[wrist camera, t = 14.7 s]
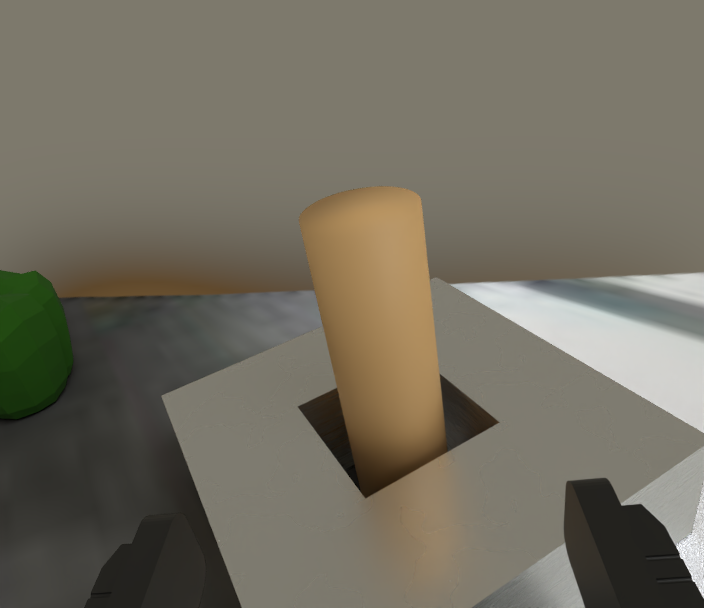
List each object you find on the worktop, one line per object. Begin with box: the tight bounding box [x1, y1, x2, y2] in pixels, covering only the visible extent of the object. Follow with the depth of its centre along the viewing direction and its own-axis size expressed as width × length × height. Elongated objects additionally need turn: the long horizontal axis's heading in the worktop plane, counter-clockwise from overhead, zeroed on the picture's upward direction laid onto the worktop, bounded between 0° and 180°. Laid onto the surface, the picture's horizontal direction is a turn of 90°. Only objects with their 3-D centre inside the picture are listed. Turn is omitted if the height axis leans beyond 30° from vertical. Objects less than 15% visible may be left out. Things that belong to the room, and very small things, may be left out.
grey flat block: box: [161, 277, 704, 608], centre depth 24 cm, size 16×16×5 cm
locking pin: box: [299, 186, 448, 499], centre depth 21 cm, size 4×4×14 cm
